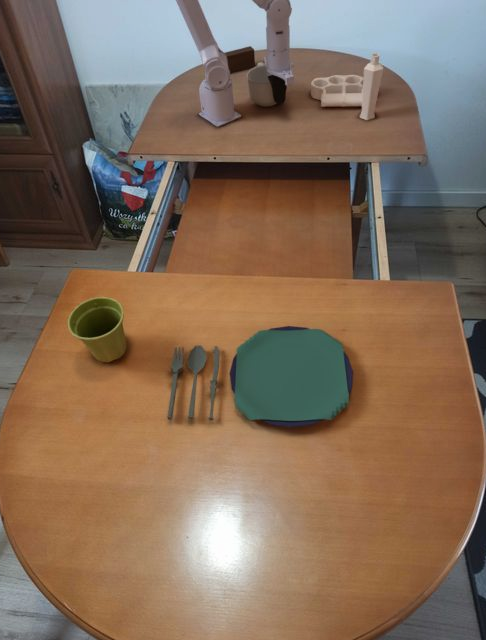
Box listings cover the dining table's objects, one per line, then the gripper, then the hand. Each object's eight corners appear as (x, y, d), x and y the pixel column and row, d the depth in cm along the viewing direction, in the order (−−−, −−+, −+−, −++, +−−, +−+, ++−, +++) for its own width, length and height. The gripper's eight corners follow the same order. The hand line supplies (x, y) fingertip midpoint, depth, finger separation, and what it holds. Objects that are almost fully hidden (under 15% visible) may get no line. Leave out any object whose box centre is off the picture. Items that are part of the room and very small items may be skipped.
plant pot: (73, 363, 87) (56, 332, 81) (100, 324, 93) (85, 291, 86) (120, 376, 85) (106, 344, 78) (144, 335, 90) (133, 302, 83)
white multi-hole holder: (309, 110, 135) (311, 85, 144) (377, 109, 132) (375, 84, 141) (309, 97, 132) (312, 73, 141) (379, 97, 129) (377, 71, 138)
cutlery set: (358, 433, 75) (360, 425, 73) (163, 433, 77) (160, 426, 76) (345, 331, 87) (347, 323, 85) (177, 334, 90) (175, 326, 88)
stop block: (255, 66, 154) (254, 49, 150) (225, 74, 153) (223, 57, 149) (251, 63, 156) (250, 45, 152) (221, 70, 154) (220, 53, 150)
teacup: (288, 109, 136) (288, 78, 130) (248, 112, 137) (247, 82, 131) (284, 85, 145) (284, 56, 139) (247, 89, 146) (245, 59, 139)
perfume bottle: (355, 113, 132) (363, 52, 120) (372, 111, 132) (380, 49, 120) (360, 121, 129) (368, 60, 117) (377, 119, 129) (386, 57, 117)
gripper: (305, 53, 120) (304, 109, 131) (281, 34, 129) (282, 87, 140) (278, 61, 119) (280, 116, 130) (255, 40, 128) (258, 94, 139)
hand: (279, 102), depth 135 cm, fingers closed, pressing on teacup
